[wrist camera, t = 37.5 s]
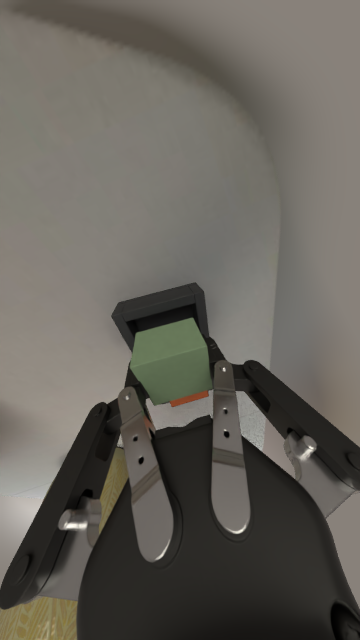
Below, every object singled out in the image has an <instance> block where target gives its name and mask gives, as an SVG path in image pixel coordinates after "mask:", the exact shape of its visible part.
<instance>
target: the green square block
mask: <svg viewBox="0 0 360 640" xmlns="http://www.w3.org/2000/svg"><path fill="white" fill-rule="evenodd" d="M130 369H131V370H132V372H133V373H134V375H135V376H136V378H137V380H138V381H140V382H141V383H142V385H143V387H144V388H145V390H146V391H147V393H148V394H149V396H150V400H151V401H152V403H153V404H154V406H155V405H159V404H162V403H166V402H169V401H173V400H176V399H179V398H183V397H186V396H190V395H193V394H197V393H200V392H203V391H207V390H210V389H213V386H212V380H211V376H210V369H209V356H208V349H207V345H206V343H205V341H204V339H203V337H202V335H201V333H200V331H199V329H198V327H197V325H196V323H195V321H194V319H193V318H189V319H185V320H182V321H178V322H174V323H171V324H167V325H163V326H160V327H156V328H152V329H149V330H145V331H141V332H138V333H136V336H135V342H134V347H133V353H132V358H131V364H130Z"/></svg>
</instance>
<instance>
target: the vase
mask: <svg viewBox="0 0 360 640" xmlns="http://www.w3.org/2000/svg"><path fill="white" fill-rule="evenodd" d="M128 477H129V475H128V470H127V464H126V459H125V453H124V449H121V448H118V447H116V449H115V452H114V456H113V459H112V462H111V465H110V468H109V472H108V475H107V478H106V481H105V484H104V488H103V491H102V494H101V497H100V502H101V506H102V513H101V514H102V518H101V522H100V524H99V535H100V533H101V531H102V529H103V527H104V525H105V523H106V521H107V519H108V517H109V515H110V513H111V511H112V509H113V507H114V505H115V503H116V501H117V499H118V497H119V495H120V493H121V491H122V489H123V487H124V485H125V483H126V481H127V479H128ZM55 478H56V477H55ZM54 480H55V479H54ZM54 480H53V481H54ZM52 483H53V482H52ZM51 485H52V484H51ZM51 485H50V487H51ZM50 487H49V489H50ZM49 489H48V491H49ZM48 491H47V493H48ZM47 493H46V495H47ZM45 497H46V496H45ZM44 499H45V498H44ZM43 501H44V500H43ZM42 503H43V502H42ZM41 505H42V504H41ZM77 603H78V601H72V600H65V599H58V598H51V597H43V598H40V599H38V600H35V601H33V602H30V603H28V604H20V605H17V606H15V607H12V608H9V609H6V610H3V609H1V608H0V640H77V629H76V614H77Z"/></svg>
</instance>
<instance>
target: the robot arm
mask: <svg viewBox="0 0 360 640" xmlns="http://www.w3.org/2000/svg"><path fill="white" fill-rule="evenodd" d="M201 335H202V337H203V339H204V341H205V343H206V345H207V349H208V356H209V369H210V376H211V380H214V392H213V419H211V417H210V415H207V416H203V417H200V418H197V419H195V420H193V421H192V422H190V423H189V424H187V425H186V426H184V427H166V428H163V429H160V430H156V428H155V426H154V424H153V421H152V419H151V416H150V414H149V411H148V408H147V406H146V399H148V398H150V396H149V394H148V393H147V391H146V390H145V388H144V387H143V385H142V383H141V382H140V381H138V380H137V378H136V376H135V375H134V373H133V372H132V370H131V369H130V364H131V361H130V363H129V366H128V371H127V377H126V382H125V387H124V389H123V390H122V391H121V392H120V393H119V395H118V398H117V399H115V400H113V401H112V402H110V403H108V404H106V403H104V402H101V403H98V404H97V405H95V406H94V407H93V408H92V409H91V411H90V412H89V414H88V416H87V418H86V420H85V422H84V424H83V426H82V428H81V430H80V432H79V433H78V435H77V437H76V439H75V441H74V443H73V445H72V447H71V449H70V451H69V453H68V455H67V457H66V458H65V460H64V462H63V464H62V466H61V468H60V470H59V472H58V474H57V476H56V478H55V480H54V481H53V483H52V485H51V487H50V489H49V491H48V493H47V495H46V497H45V499H44V501H43V503H42V505H41V506H40V508H39V510H38V512H37V514H36V516H35V518H34V520H33V522H32V524H31V526H30V528H29V530H28V532H27V533H26V535H25V538H24V539H23V541H22V543H21V545H20V547H19V549H18V551H17V553H16V555H15V557H14V558H13V560H12V562H11V564H10V566H9V568H8V570H7V572H6V574H5V577H4V579H3V582H2V585H1V589H0V608H1V609H3V610H6V609H9V608H12V607H15V606H17V605H20V604H28V603H30V602H33V601H35V600H38V599H40V598H43V597H51V598H58V599H65V600H72V601H78V603H77V614H76V629H77V640H360V609H359V607H358V605H357V602H356V600H355V598H354V596H353V594H352V592H351V589H350V587H349V585H348V582H347V580H346V577H345V574H344V572H343V569H342V566H341V563H340V560H339V557H338V554H337V551H336V547H335V543H334V540H333V536H332V533H331V531H330V528H329V526H328V523H327V521H326V518H327V517H328V516H329V515H330V514H331V513H332V512H333V511H335V510H336V509H337V508H338V507H339V506H340V505H341V504H342V503H343V502H344V501H345V500H346V499H347V498H348V497H350V496H351V495H352V494H356V493H360V447H358V446H357V445H356V444H355V443H354V442H353V441H351V440H350V439H349V438H348V437H347V436H345V435H344V434H343V433H342V432H341V431H339V430H338V429H337V428H336V427H335V426H333V425H332V424H331V423H330V422H329V421H328V420H327V419H325V418H324V417H323V416H322V415H320V414H319V413H318V412H317V411H316V410H315V409H314V408H312V407H311V406H310V405H309V404H308V403H306V402H305V401H304V400H303V399H302V398H301V397H299V396H298V395H297V394H296V393H295V392H293V391H292V390H291V389H290V388H289V387H288V386H286V385H285V384H284V383H283V382H282V381H280V380H279V379H278V378H277V377H276V376H274V375H273V374H272V373H271V372H270V371H269V370H267V369H266V368H265V367H264V366H263V365H262V364H260V363H259V362H257V361H254V360H248V361H246V362H245V363H244V365H235V364H231V363H230V362H228V361H227V360H226V359H225V357H224V356H223V354H222V352H221V351H220V349H219V348H218V346H217V344H216V342H215V341H214V340H213V339H212V338H211V337H209V338H206V337H205V335H204V334H201ZM235 391H244V392H245V393H246V394H247V395H248V396H249V398H250V399H251V400H252V401H253V402H254V403H255V405H256V406H257V407H258V408H259V409H260V411H261V412H262V413H263V414H264V415H265V417H266V418H267V419H268V420H269V421H270V422H271V424H272V425H273V426H274V427H275V428H276V430H277V431H278V432H279V433H280V434H281V435H282V437H283V438H284V439H285V442H284V450H285V453H286V455H287V457H288V458H289V460H290V461H291V463H292V465H293V467H294V470H295V479H294V478H293V477H292V476H291V475H289V474H288V473H287V472H286V471H284V470H283V469H282V468H281V467H280V466H278V465H277V464H276V463H275V462H273V461H272V460H271V459H270V458H269V457H268V456H266V455H265V454H264V453H263V452H261V451H260V450H259V449H258V448H257V447H255V446H254V445H253V444H252V443H251V442H249V441H248V440H247V439H246V438H244V437H243V436H242V435H241V431H240V422H239V414H238V405H237V397H236V392H235ZM120 433H121V437H122V442H123V448H124V453H125V459H126V464H127V470H128V475H129V477H128V479H127V481H126V483H125V485H124V487H123V489H122V491H121V493H120V495H119V497H118V499H117V501H116V503H115V505H114V507H113V509H112V511H111V513H110V515H109V517H108V519H107V521H106V523H105V525H104V527H103V529H102V531H101V533H100V535H99V524H100V522H101V518H102V514H101V513H102V506H101V502H100V497H101V494H102V491H103V488H104V484H105V481H106V478H107V475H108V472H109V468H110V465H111V462H112V459H113V456H114V452H115V449H116V446H117V443H118V440H119V436H120Z"/></svg>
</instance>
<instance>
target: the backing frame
mask: <svg viewBox="0 0 360 640" xmlns="http://www.w3.org/2000/svg"><path fill="white" fill-rule="evenodd" d="M111 317H112V319H113V320H114V322H115V324H116V326H117V327H118V329H119V331H120V333H121V334H122V336H123V338H124V340H125V341H126V343H127V345H128V346H129V348H130V350H131V352H132V353H133V347H134V342H135V336H136V333H138V332H141V331H145V330H149V329H152V328H156V327H160V326H163V325H167V324H171V323H174V322H178V321H182V320H185V319H189V318H193V319H194V321H195V323H196V325H197V327H198V329H199V331H200V333H201V334H204V335H205V337H206V338H209V331H208V323H207V314H206V306H205V297H204V291H203V290H202V289H201V288H200V287H199V286H198V285H197V284H196V283H191V284H187V285H183V286H180V287H176V288H172V289H168V290H165V291H161V292H157V293H153V294H149V295H146V296H142V297H138V298H134V299H131V300H127V301H123V302H119V303H118V304H117V306H116V308H115V310H114V312H113V314H112V315H111ZM212 386H213V389H214V380H212ZM210 390H212V389H210ZM208 391H209V390H208ZM166 403H167V402H166ZM162 404H165V403H162Z"/></svg>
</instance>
